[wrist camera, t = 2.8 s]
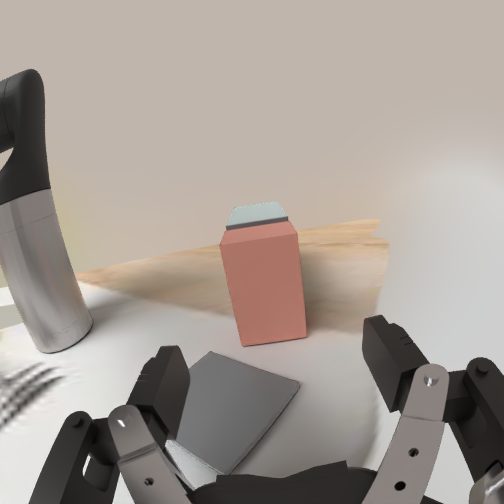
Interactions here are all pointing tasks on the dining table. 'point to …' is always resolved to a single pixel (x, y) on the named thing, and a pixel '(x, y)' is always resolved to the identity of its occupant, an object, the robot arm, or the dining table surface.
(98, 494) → the robot arm
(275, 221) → the pale green block
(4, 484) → the dining table surface
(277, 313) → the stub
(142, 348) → the dining table surface
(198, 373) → the coaster
